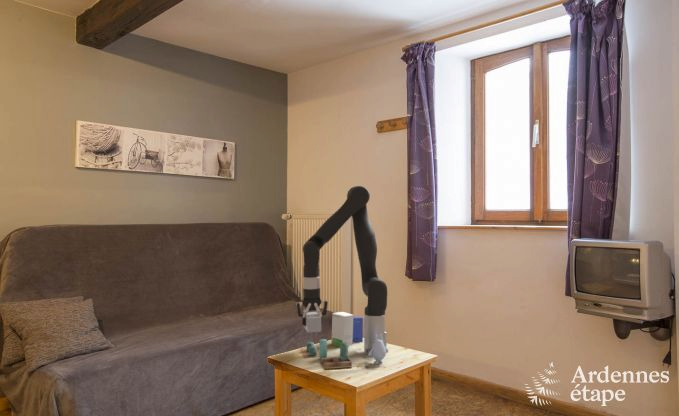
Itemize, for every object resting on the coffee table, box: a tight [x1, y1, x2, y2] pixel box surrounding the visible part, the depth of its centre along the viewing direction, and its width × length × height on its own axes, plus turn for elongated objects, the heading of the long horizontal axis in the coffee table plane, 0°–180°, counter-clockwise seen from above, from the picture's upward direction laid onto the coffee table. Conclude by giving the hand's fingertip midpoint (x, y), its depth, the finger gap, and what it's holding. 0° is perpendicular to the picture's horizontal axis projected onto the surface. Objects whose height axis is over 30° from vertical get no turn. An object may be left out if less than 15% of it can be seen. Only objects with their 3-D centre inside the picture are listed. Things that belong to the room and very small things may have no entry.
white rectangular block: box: [303, 311, 323, 333], centre depth 206 cm, size 6×12×6 cm, turn 13°
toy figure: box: [367, 334, 389, 365], centre depth 195 cm, size 11×6×12 cm, turn 125°
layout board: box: [299, 341, 319, 359], centre depth 205 cm, size 8×13×5 cm, turn 13°
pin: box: [318, 338, 328, 361], centre depth 197 cm, size 3×3×9 cm
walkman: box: [352, 315, 364, 343], centre depth 229 cm, size 8×3×12 cm, turn 96°
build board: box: [320, 343, 353, 371], centre depth 191 cm, size 11×8×9 cm
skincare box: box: [330, 311, 354, 347], centre depth 220 cm, size 8×7×16 cm
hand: (312, 325), depth 206 cm, fingers closed on white rectangular block, 6 cm apart
